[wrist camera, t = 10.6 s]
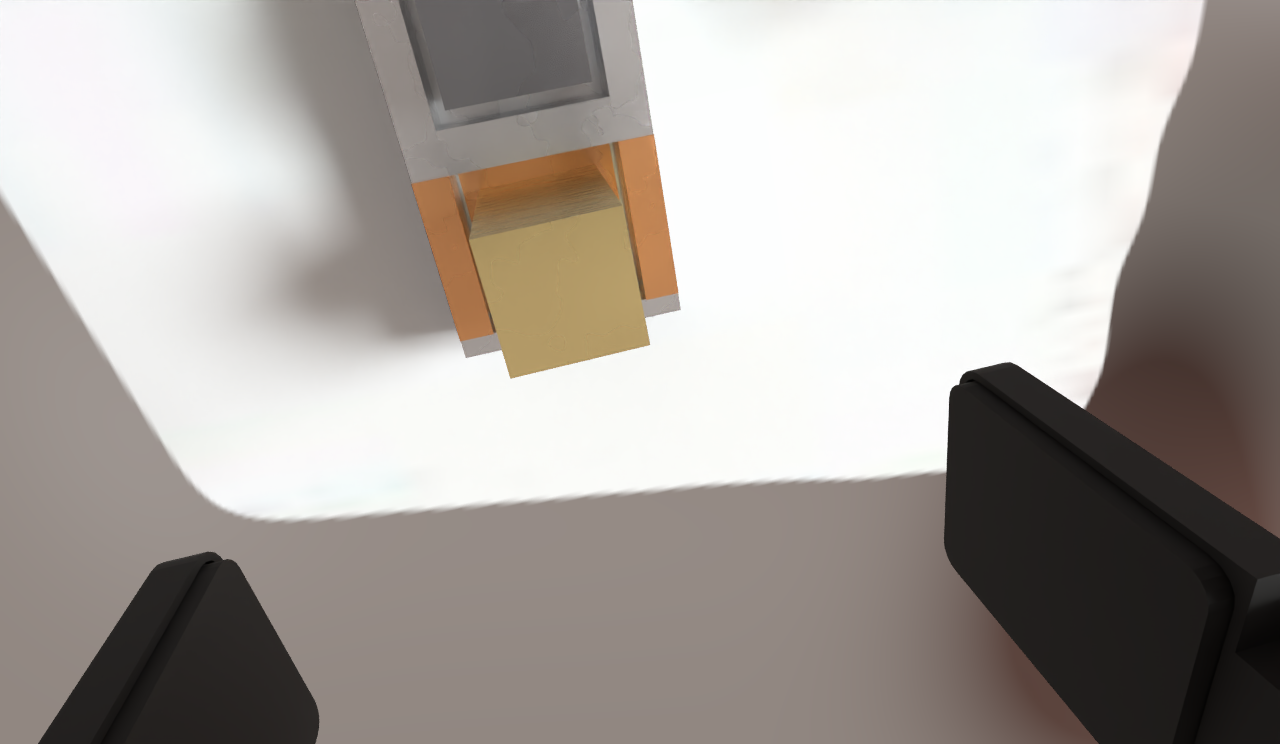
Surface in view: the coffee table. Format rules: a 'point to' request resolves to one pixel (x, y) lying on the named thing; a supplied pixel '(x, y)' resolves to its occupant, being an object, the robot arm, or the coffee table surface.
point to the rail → (523, 149)
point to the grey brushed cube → (503, 48)
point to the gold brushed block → (557, 270)
